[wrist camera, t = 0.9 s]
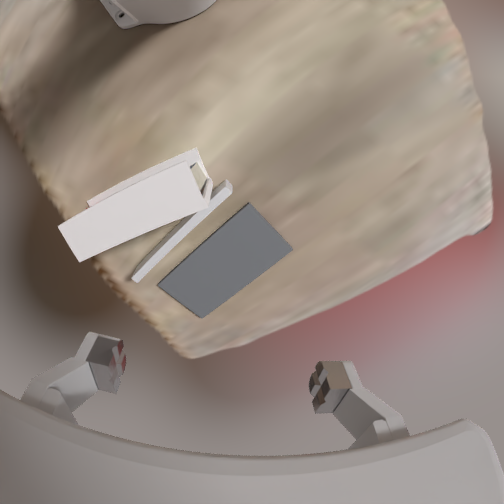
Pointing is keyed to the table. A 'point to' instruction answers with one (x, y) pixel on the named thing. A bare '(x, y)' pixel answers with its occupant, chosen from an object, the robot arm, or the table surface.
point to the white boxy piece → (140, 205)
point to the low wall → (181, 231)
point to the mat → (226, 262)
